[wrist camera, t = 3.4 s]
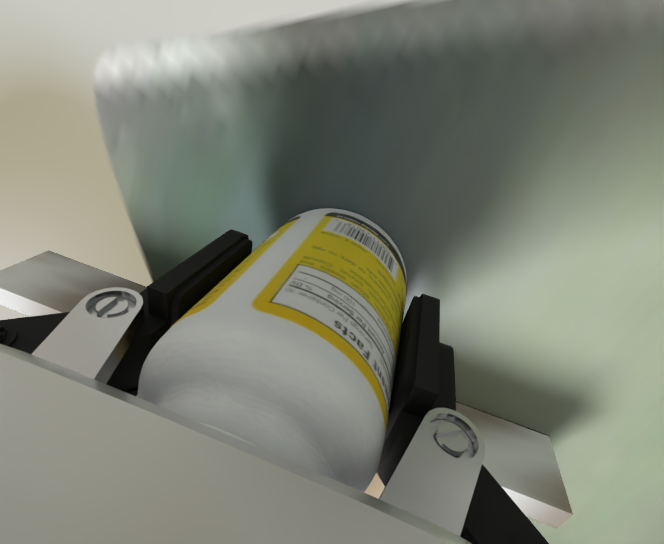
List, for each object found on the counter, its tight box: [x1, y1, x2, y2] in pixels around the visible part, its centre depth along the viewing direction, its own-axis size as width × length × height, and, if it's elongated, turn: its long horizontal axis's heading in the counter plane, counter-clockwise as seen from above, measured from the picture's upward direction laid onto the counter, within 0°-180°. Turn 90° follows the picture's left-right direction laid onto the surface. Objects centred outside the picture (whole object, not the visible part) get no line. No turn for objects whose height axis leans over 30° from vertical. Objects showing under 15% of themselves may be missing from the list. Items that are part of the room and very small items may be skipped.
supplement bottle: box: [138, 208, 407, 492], centre depth 9 cm, size 5×5×10 cm
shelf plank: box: [0, 251, 573, 528], centre depth 17 cm, size 24×11×3 cm, turn 77°
